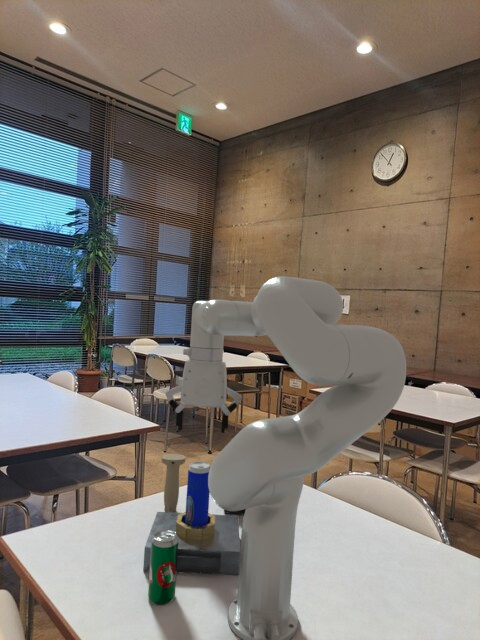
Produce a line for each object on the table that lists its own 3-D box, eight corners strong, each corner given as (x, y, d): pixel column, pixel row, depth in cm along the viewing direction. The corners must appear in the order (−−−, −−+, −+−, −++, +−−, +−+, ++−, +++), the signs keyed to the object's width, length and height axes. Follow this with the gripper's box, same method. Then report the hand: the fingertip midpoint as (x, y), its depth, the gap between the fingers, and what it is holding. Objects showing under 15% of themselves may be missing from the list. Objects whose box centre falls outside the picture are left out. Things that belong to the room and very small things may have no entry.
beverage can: (182, 525, 99) (186, 461, 99) (203, 523, 101) (207, 460, 101) (187, 537, 94) (191, 469, 94) (209, 534, 96) (214, 468, 96)
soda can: (153, 587, 84) (157, 527, 84) (178, 591, 84) (181, 530, 83) (143, 604, 79) (147, 540, 79) (170, 608, 79) (174, 544, 78)
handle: (181, 515, 114) (185, 460, 114) (157, 515, 114) (161, 459, 113) (182, 507, 119) (185, 454, 119) (159, 507, 118) (162, 453, 118)
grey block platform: (238, 578, 89) (240, 543, 89) (142, 574, 88) (144, 538, 88) (237, 535, 106) (238, 505, 106) (156, 531, 105) (157, 501, 105)
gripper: (165, 354, 93) (161, 433, 93) (244, 359, 93) (240, 437, 94) (170, 351, 100) (166, 424, 101) (243, 355, 101) (239, 428, 101)
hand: (201, 430), depth 97 cm, fingers open, 9 cm apart
